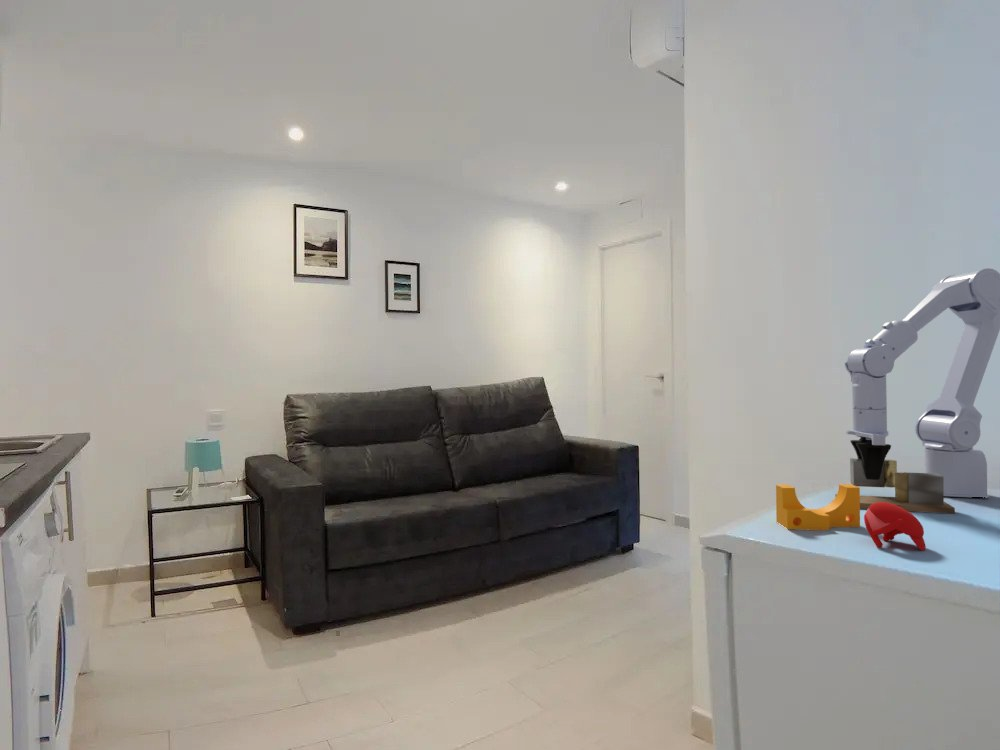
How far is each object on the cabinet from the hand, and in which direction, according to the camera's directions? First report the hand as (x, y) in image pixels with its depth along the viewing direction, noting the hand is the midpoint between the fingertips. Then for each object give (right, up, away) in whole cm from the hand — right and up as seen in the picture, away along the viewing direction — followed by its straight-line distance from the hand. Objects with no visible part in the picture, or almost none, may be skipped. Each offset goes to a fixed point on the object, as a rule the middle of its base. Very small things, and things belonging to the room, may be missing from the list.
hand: (870, 477), depth 118 cm
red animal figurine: (-16, -4, -32) cm, 36 cm away
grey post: (+1, -1, 0) cm, 2 cm away
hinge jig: (-2, -4, -9) cm, 10 cm away
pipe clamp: (-21, -5, -21) cm, 31 cm away
